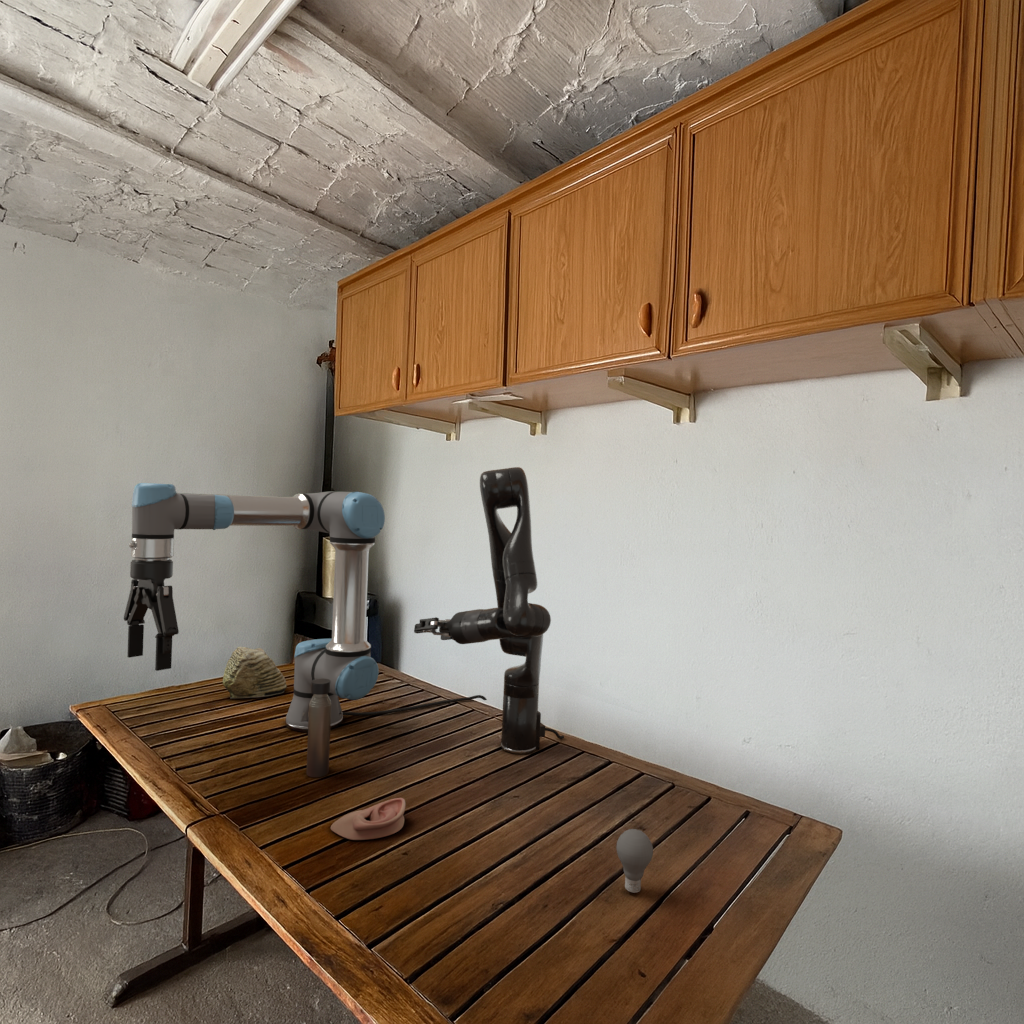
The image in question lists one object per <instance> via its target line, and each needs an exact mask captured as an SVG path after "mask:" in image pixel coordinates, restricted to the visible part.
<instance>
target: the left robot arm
mask: <svg viewBox="0 0 1024 1024" xmlns="http://www.w3.org/2000/svg"><path fill="white" fill-rule="evenodd" d="M385 515H386V513H385V511H384V508H383V505H382V503H381V502H380V501H379V500H378V498H377V497H375V495H373V494H370V493H367V492H363V491H362V492H361V491H337V490H336V491H335V490H333V491H332V490H330V491H321V492H311V493H295V494H294V495H293V496H276V495H275V496H274V495H273V496H272V495H248V494H247V495H246V494H244V495H243V494H220V493H219V494H218V493H217V494H216V493H215V494H214V493H189V492H187V493H186V492H177V491H176V486H175V485H174V484H173V483H152V482H139V483H137V484H136V485H135V486H134V488H133V492H132V501H131V520H132V521H131V542H130V543H128V547H129V548H130V549H131V550H130V556H131V558H133V559H132V560H131V561H130V567H129V568H130V571H129V574H130V575H129V576H130V578H131V581H130V590H129V594H128V598H127V603H126V607H125V610H124V615H123V621H124V622H126V624H127V626H128V629H127V630H128V631H127V658H135V657H142V656H144V635H145V634H144V630H145V625H144V624H145V623H146V621H145V619H144V618H145V616H146V615H147V612H148V609H149V610H151V613H152V618H153V620H154V624H155V627H156V631H157V633H156V635H155V636H154V638H155V661H154V663H155V665H154V668H155V669H154V670H155V671H157V672H159V671H164V670H169V669H172V659H173V657H172V655H173V637H175V636H176V635H179V632H180V631H179V625H178V619H177V615H176V614H177V613H176V609H175V603H174V597H173V595H174V593H173V585H165V580H167V579H171V578H172V577H173V575H174V573H173V572H174V561H173V560H172V559H171V558H173V557H174V554H175V553H174V552H175V530H213V531H215V530H224V529H228V528H230V526H233V527H234V526H237V527H238V526H240V527H243V526H246V527H247V526H249V527H250V526H258V527H259V526H268V527H269V526H276V527H277V526H282V527H284V526H285V527H286V526H287V527H288V526H289V527H290V526H291V527H293V528H294V529H296V530H308V531H309V530H310V531H316V532H319V533H325V534H329V544H330V545H331V546H332V547H333V548H334V550H335V551H334V572H333V573H334V577H333V599H332V625H331V626H332V627H331V638H317V639H308V640H304V641H300V642H299V643H297V645H296V646H295V650H294V655H293V657H294V672H293V673H294V674H293V695H292V696H293V697H292V699H291V702H290V704H289V708H288V711H287V713H286V715H285V726H286V728H287V729H289V730H291V731H294V732H295V731H296V732H301V733H308V720H309V703H310V701H311V699H312V697H313V695H314V694H312V693H311V683H312V680H315V679H329V680H331V685H330V693H328V694H327V695H328V697H329V698H330V700H331V725H330V730H332V729H335V728H337V727H339V726H340V725H342V723H343V722H344V716H355V717H363V716H364V717H365V716H367V717H368V716H377V715H387V714H395V713H401V712H407V711H412V710H413V711H414V710H418V709H422V708H427V707H433V706H438V705H443V704H450V703H456V702H465V701H472V700H475V699H481V700H483V701H488V699H487V698H486V697H485V696H484V695H481V694H476V695H472V696H468V697H459V698H451V699H446V700H445V699H444V700H440V701H439V700H438V701H434V702H429V703H423V704H418V705H413V706H408V707H399V708H395V709H387V710H378V711H377V710H376V711H365V712H354V711H343V709H342V706H341V702H340V699H339V698H341V699H342V700H343V699H344V700H348V701H349V700H350V701H357V700H360V699H362V698H364V697H365V696H367V695H368V694H370V692H371V690H372V689H374V687H375V685H376V683H377V682H378V678H379V674H380V672H379V671H380V670H379V669H380V668H379V665H378V663H377V662H376V660H375V659H374V657H371V652H372V649H371V648H372V644H371V643H370V642H368V640H367V639H366V631H367V607H368V606H367V605H368V604H367V602H368V582H369V581H368V579H369V555H370V553H369V552H370V550H371V548H372V547H374V545H375V544H376V536H378V535H379V534H380V533H381V530H383V528H384V526H385V522H386V521H385V520H386V516H385Z"/></svg>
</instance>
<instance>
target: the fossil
mask: <svg viewBox="0 0 1024 1024" xmlns="http://www.w3.org/2000/svg"><path fill="white" fill-rule="evenodd" d="M222 676H223V677H222V685H223V687H224V688H225V690H226V691H228V693H229V698H230V699H250V698H264V697H271V696H275V695H281V694H284V693H285V691H286V689H287V687H288V686H287V680H286V678H285V676H284V674H283V673H282V672H281V669H279V668H278V667H277V665H276V663H275V662H274V660H273V659H272V658H271V657H270V656H269V655H268V654H267V653H266V652H265V650H264V649H263V648H260V647H258V648H251V647H247V646H246V647H245V646H238V647H237V648H236V649H235V650H233V651H232V653H231V656H230V657H229V659H228V660H227V663H226V666H225V668H224V671H223V675H222Z"/></svg>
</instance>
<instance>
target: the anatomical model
mask: <svg viewBox="0 0 1024 1024" xmlns="http://www.w3.org/2000/svg"><path fill="white" fill-rule="evenodd" d="M406 807H407V804H406V799H405V798H403V797H396V798H391V799H388V800H385V801H382V802H378V803H376V804H374V805H372V806H370V807H367V808H364V809H360V810H355V811H351V812H348V813H347V814H344V815H343V816H341V817H340V818H338V819H336V820H335V821H334V822H333V823H332V824H331V825H330V830H331V832H333V833H335V834H337V835H338V836H339V837H342V838H344V839H346V840H351V841H365V840H374V839H380V838H384V837H388V836H391V835H394V834H395V833H397V832H399V831H400V830H402V829H403V828H404V825H405V816H404V814H405V812H406V811H405V810H406Z"/></svg>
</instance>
